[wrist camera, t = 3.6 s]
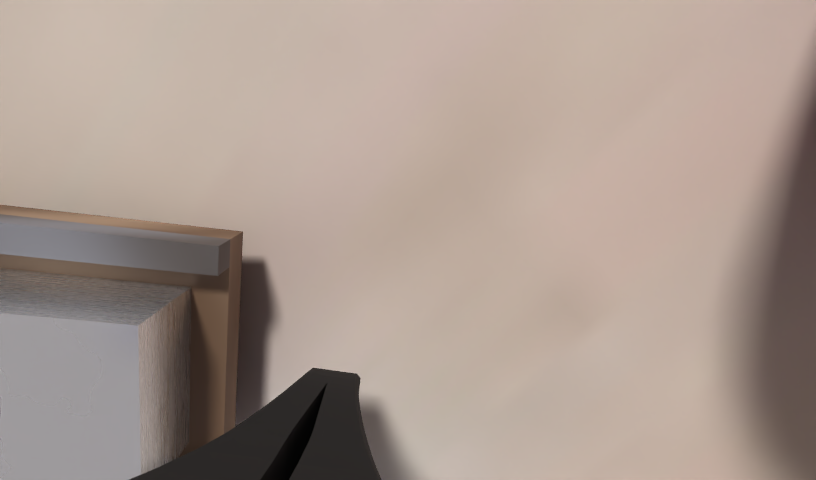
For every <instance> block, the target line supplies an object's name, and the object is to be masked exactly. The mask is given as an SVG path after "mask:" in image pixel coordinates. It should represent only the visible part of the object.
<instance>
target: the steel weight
mask: <svg viewBox="0 0 816 480" xmlns="http://www.w3.org/2000/svg"><path fill="white" fill-rule="evenodd" d="M190 341H191V287H186V286H175V285H165V284H155V283H145V282H135V281H125V280H114V279H104V278H94V277H84V276H74V275H64V274H53V273H43V272H33V271H23V270H13V269H3V268H0V480H129V479H131V478H134V477H136V476H139V475H141V474H144V473H146V472H148V471H151V470H153V469H155V468H158V467H160V466H162V465H164V464H166V463H168V462H170V461H172V460H175V459H177V458H178V457H179V456H180V454H181V453H182V451H183V450H184V448H185V447H186V445H187V444H188V442H189V422H190Z"/></svg>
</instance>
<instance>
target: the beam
mask: <svg viewBox="0 0 816 480" xmlns="http://www.w3.org/2000/svg"><path fill="white" fill-rule="evenodd" d="M242 241H243V232H241V231H232V230H223V229H214V228H205V227H196V226H187V225H178V224H169V223H160V222H151V221H142V220H133V219H123V218H114V217H105V216H96V215H87V214H78V213H69V212H60V211H51V210H42V209H33V208H24V207H15V206H6V205H0V268H3V269H13V270H23V271H33V272H43V273H53V274H64V275H74V276H84V277H94V278H104V279H114V280H125V281H135V282H145V283H155V284H165V285H175V286H186V287H191V341H190V422H189V442H188V444H187V445H186V447H185V448H184V450H183V451H182V453H181V454H180V456H179V457H181V456H183V455H185V454H187V453H189V452H191V451H194V450H196V449H198V448H199V447H201V446H203V445H205V444H207V443H209V442H210V441H212V440H214V439H216V438H218V437H219V436H221V435H223V434H225V433H226V432H228V431H230V430H231V429H233V428H234V427H235V414H236V389H237V365H238V340H239V315H240V290H241V266H242ZM179 457H178V458H179Z"/></svg>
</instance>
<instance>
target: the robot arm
mask: <svg viewBox="0 0 816 480" xmlns="http://www.w3.org/2000/svg"><path fill="white" fill-rule="evenodd" d="M359 386H360V377H359V376H358V375H357V374H354V373H347V372H340V371H332V370H325V369H318V368H312V369H311V370H310V371H308V372H307V373H306V374H305V375H303V376H302V377H301V378H300V379H299V380H297V381H296V382H295V383H294V384H293V385H291V386H290V387H289V388H288V389H287V390H285V391H284V392H283V393H282V394H280V395H279V396H278V397H276V398H275V399H274V400H273V401H271V402H270V403H269V404H267V405H266V406H265V407H263V408H262V409H261V410H259V411H258V412H256V413H255V414H254V415H252V416H251V417H249V418H248V419H246V420H245V421H243V422H242V423H241V424H239V425H238V426H236V427H234V428H233V429H231V430H230V431H228V432H226V433H225V434H223V435H221V436H219V437H218V438H216V439H214V440H212V441H210V442H209V443H207V444H205V445H203V446H201V447H199V448H198V449H196V450H194V451H191V452H189V453H187V454H185V455H183V456H181V457H179V458H177V459H175V460H172V461H170V462H168V463H166V464H164V465H162V466H160V467H158V468H155V469H153V470H151V471H148V472H146V473H144V474H141V475H139V476H136V477H134V478H131V479H129V480H381V478H380V475H379V473H378V471H377V468H376V465H375V463H374V460H373V457H372V455H371V452H370V449H369V445H368V442H367V438H366V435H365V431H364V427H363V422H362V417H361V412H360V405H359Z"/></svg>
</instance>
